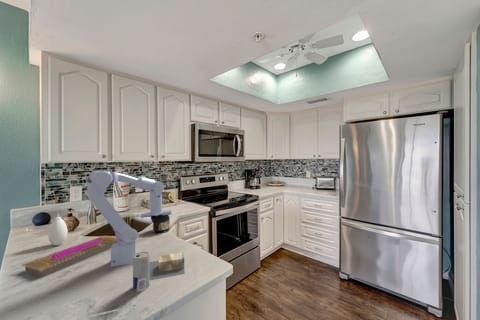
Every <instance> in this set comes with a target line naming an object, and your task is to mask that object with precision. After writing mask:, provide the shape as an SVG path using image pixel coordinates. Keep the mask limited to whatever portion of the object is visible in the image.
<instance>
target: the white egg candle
mask: <svg viewBox="0 0 480 320" xmlns="http://www.w3.org/2000/svg"><path fill="white" fill-rule="evenodd" d="M68 232H69V231H68V226H67V224H66V222H65V220H64V219H62V216H60V214H59V212H57V217H55V218H54V220H53V221H52V222H51V225H50V226H49V228H48V235H47V238H48V241H49V242H50V244H51V245H53V246H61V245H62V244H63V243H64V242H65V241H66V240H67V237H68V234H69V233H68Z"/></svg>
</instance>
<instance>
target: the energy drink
mask: <svg viewBox="0 0 480 320" xmlns="http://www.w3.org/2000/svg"><path fill="white" fill-rule="evenodd" d="M150 262H151V260H150V253H149V252H148V251H140V252H137V253H135V255H134V257H133V262H132V290H133V292H136V293H137V292H138V293H139V292H143V291H145V290H148V289H149V287H150V286H151V285H150V283H151V280H150Z"/></svg>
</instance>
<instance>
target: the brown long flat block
mask: <svg viewBox="0 0 480 320" xmlns="http://www.w3.org/2000/svg"><path fill="white" fill-rule="evenodd" d="M117 241H118V238H116V236H109V235H103V236H99V237H97V238H94V239H91V240H88V241H86V242H82V243H79V244H77V245H74V246H71V247H68V248H65V249H63V250H60V251H58V252H54V253H52V254H49V255H46V256H42V257H41V258H37V259H34V260H32V261H29V262H26V263H24V264H21V265H20V266H22V267H25V271H24V272H25V273H29V274H31V275H34V276H36V277H40V278H45V277H47V276H49V275H52V274H54V273H56V272H60V271H62V270H63V269H64V270H65V269H66V268H68V267H70V266H73V265H75V264H78V263H80V262H82V261H85V260H87V259H89V258H92V257H94V256H97V255H100V254H102V253H104V252H105V251H108V250H111V247H112V245H113V244H114V243H117Z"/></svg>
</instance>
